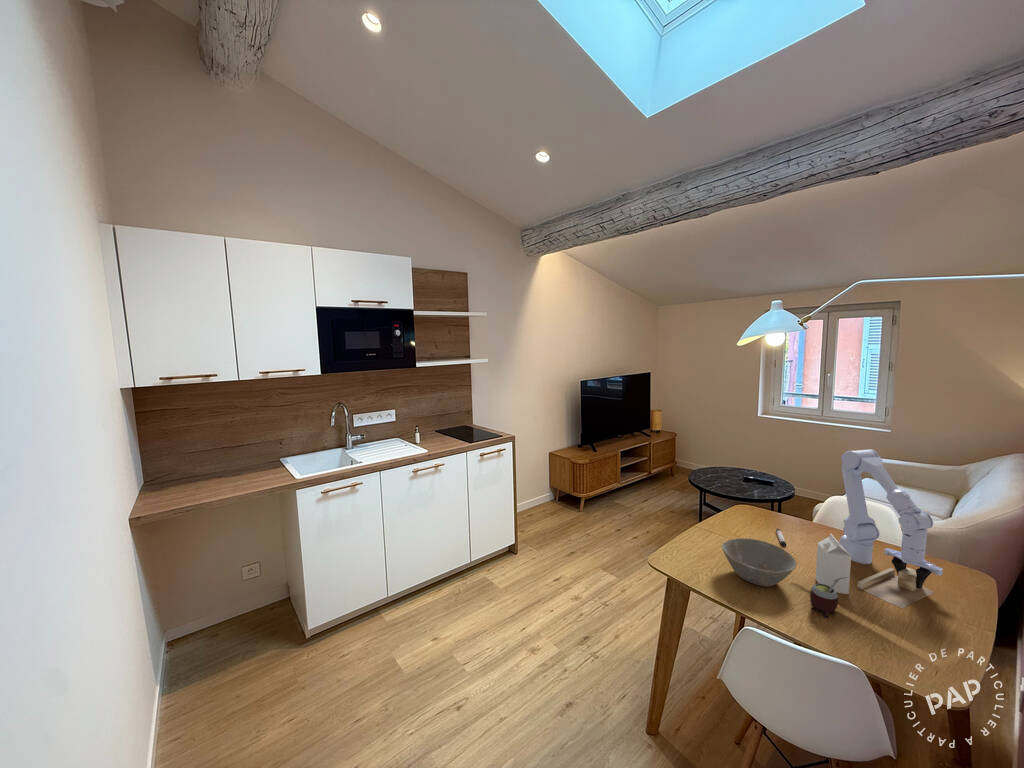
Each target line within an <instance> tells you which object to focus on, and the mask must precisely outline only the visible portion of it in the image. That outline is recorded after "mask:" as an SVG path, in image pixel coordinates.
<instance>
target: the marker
mask: <svg viewBox="0 0 1024 768" xmlns="http://www.w3.org/2000/svg"><path fill="white" fill-rule="evenodd" d="M775 533H776V535H777V538H778V540H779V543H780V545H781V547H785V546H786V547H787V542H786V540H785V538H784V535H783V532H782V531H781V529H780V528H776V530H775Z"/></svg>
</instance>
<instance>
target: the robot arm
mask: <svg viewBox="0 0 1024 768" xmlns="http://www.w3.org/2000/svg"><path fill="white" fill-rule="evenodd" d="M840 457H841V463H842V464H841V473H842V474H841V475H842V478H843V480H842V481H843V485H844V490H845V497H846V501H847V507H848V513H849V514H848V516H847V517H845V519H843V529H842V531H843V535H841V536H840V538H839V541H838V542H839V543H840V545H841V546H842V547H843V548H844V549H845V550H846V551H847V552H848V553H849V554H850V555H851V562H852V561H853V562H855V563H859V564H863V565H864V564H865V565H870V564H872V561H873V549H874V543H875V540H877V539H878V538H879V537H880V530H879V528H878V527H877V524H876V520H875V519H873V518H872V517H871V516H869V513H868V508H867V507H868V506H867V501H866V496H865V490H864V486H863V485H864V484H863V481H862V473H868V474H870V475H871V476H872V477H873V478H874V479H875V481H876V482H877V483H878V484H879V485H880V486H881V487H882V489H883V490H884V491H885V492H886V497H885V498H886V499H887V501H888V502H889V503H890V505H891V506H892V508H893V509H894V510H895V512H896V513H897V514H898V516H899V517H898V523H899V524H900V526H901V531H902V535H901V536H902V537H901V546H900V547H901V548H900V549H901V550H900V551H899V550H895V549H892V548H888V547H887V548H885V549H884V552H883V555H885V556H890V557H892V559H891V564H892V566H893V567H894V568H895V571H896V575H898V574H899V571H901V570H904V569H906V568H907V566H908V565H913V566H916V567H918V568H917V569H915V570H916V576H917V581H916V588H918V589H920V588H922V587H923V585H924V583H925V581H926V580H927V578H929V576H930V575H931V574H932V573H933V574H935V575H936V576H939V577H940V576H942V575H943V572H944V568H942V567H940V566H937V565H935V564H933V563H931V562H930V561H928V560H925V559H926V558H925V557H926V548H927V537H928V529H931V528H932V527H933V525H934V521H933V520H934V519H933V518H932V517H931V515H930V514H929V513H928V512H926V511H924V510H922V509H921V508H920V507H918V506H917V504H916V503H915V502H914V501H913V499H912V498H911V495H910V494H909V493H907V492H906V491H905V490H902V489H899V487H898V486H897V484H896V483H895V482H894V481H893V479H892V477H891V476H890V474H889V472H888V471H887V469H886V468H885V467H884V465H883V458H882V457H881V456H880V455H879V454H878V452H877V450H876V451H875V450H874V449H871V448H868V449H867V448H866V449H859V450H858V449H857V450H847V451H845V452H844V453H842V455H841V456H840Z"/></svg>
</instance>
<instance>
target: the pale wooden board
mask: <svg viewBox="0 0 1024 768" xmlns="http://www.w3.org/2000/svg"><path fill="white" fill-rule="evenodd" d="M895 571H896V569H894V568H893V567H889V568H887V569H884V570H883V571H879V572H877V573H875V574H873V575H870V576H868V577H865V578H863V579H861V580H859V581H857V585H856V587H857V589H860V590H862V591H864V592H866V593H868V594H869V595H872V596H874V597H876V598H878V599H881V600H883V601H884V602H887V603H889V604H891V605H893V606H896V607H897V608H899V609H902V610H903V609H905V608H907V607H909V606H910V605H912V604H914V603H916V602H918V601H921V600H922V599H924V598H926V597H928V596H930V595H932V594H935V591H934V590H932V589H929V588H927V587H924V586H922V588H920V589H918V590H916V591H913V592H912V591H910V590H907V589H905V588H903V587H900V586H898V575H897V574H895Z"/></svg>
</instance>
